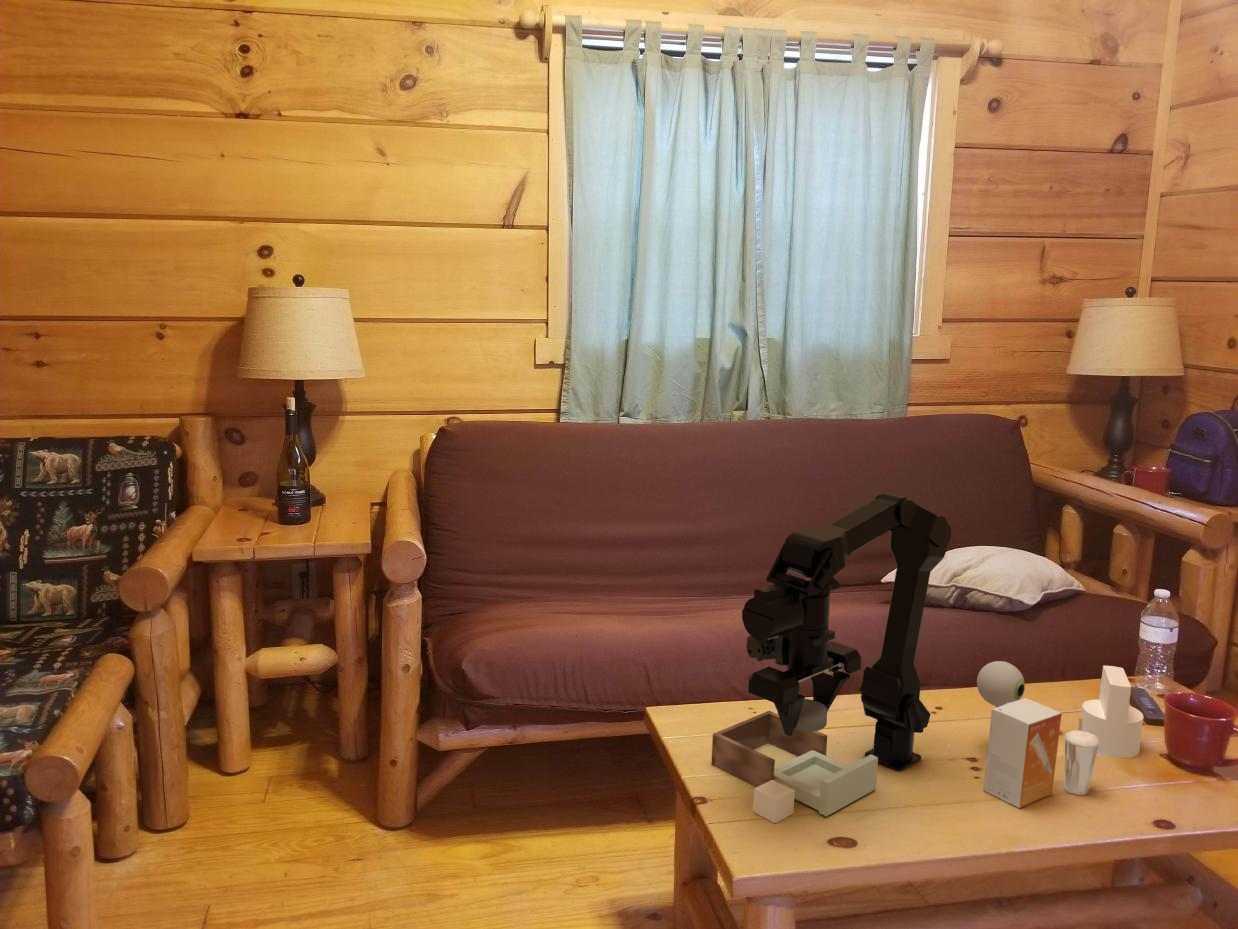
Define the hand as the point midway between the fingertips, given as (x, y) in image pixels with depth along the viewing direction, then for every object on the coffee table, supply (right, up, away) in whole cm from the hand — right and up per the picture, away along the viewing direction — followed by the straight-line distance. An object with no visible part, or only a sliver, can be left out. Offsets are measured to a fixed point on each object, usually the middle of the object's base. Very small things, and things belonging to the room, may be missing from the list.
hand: (803, 727), depth 141 cm
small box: (+33, -11, +6) cm, 35 cm away
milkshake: (+42, -11, +7) cm, 44 cm away
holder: (-3, -9, +12) cm, 16 cm away
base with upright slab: (+54, -9, +22) cm, 59 cm away
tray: (+3, -10, +6) cm, 12 cm away
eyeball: (+34, -9, +19) cm, 40 cm away
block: (-5, -11, -2) cm, 12 cm away
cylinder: (0, +1, 0) cm, 1 cm away
